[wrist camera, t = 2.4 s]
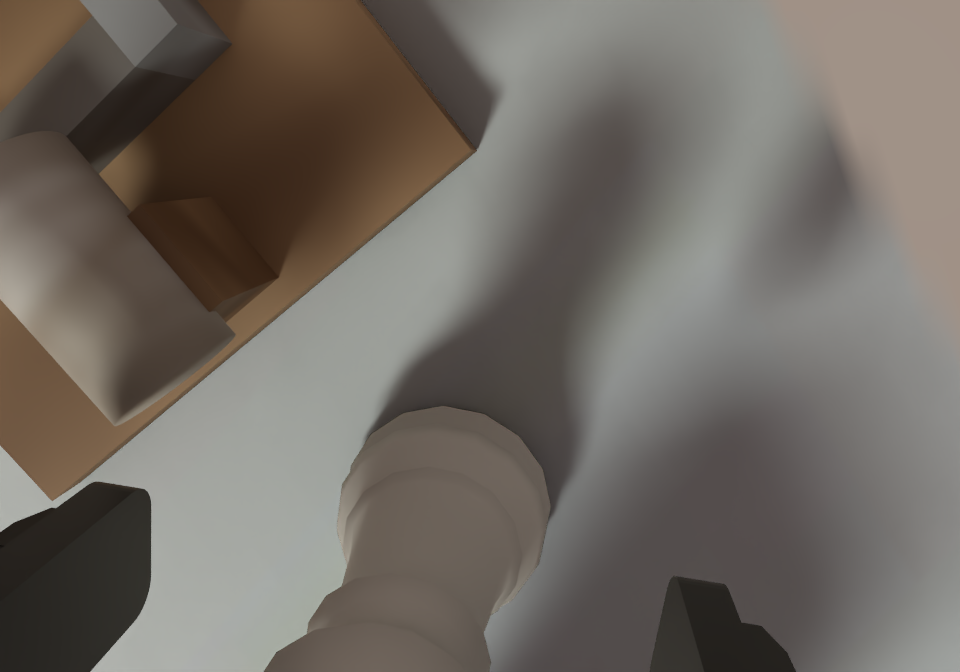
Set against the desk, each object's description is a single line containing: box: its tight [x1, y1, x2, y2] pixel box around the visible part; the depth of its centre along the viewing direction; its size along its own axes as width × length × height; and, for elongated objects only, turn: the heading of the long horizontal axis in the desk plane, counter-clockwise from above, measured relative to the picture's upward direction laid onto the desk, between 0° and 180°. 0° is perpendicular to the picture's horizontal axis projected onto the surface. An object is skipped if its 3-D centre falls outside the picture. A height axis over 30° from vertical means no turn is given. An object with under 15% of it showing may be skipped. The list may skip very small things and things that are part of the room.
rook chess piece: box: [264, 406, 551, 672], centre depth 12 cm, size 4×4×8 cm
